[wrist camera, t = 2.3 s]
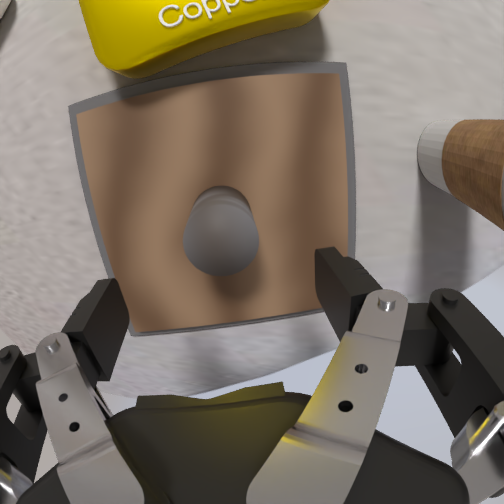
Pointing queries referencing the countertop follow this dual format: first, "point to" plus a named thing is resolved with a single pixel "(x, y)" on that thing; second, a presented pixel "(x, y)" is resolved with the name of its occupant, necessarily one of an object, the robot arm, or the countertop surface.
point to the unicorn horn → (3, 6)
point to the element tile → (182, 28)
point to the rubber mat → (212, 76)
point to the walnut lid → (219, 196)
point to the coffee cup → (467, 163)
